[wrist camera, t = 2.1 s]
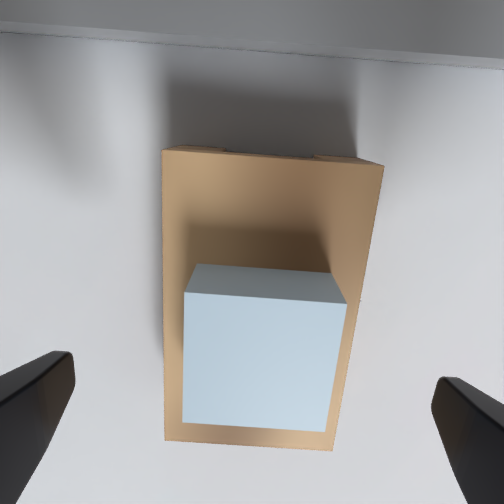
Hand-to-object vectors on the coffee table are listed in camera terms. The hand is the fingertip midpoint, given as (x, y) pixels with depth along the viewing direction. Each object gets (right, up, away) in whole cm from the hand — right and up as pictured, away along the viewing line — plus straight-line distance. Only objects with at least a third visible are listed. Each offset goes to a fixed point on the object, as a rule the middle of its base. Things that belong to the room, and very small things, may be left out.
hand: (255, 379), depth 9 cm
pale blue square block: (0, +1, +3) cm, 3 cm away
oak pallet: (0, +2, +5) cm, 6 cm away
